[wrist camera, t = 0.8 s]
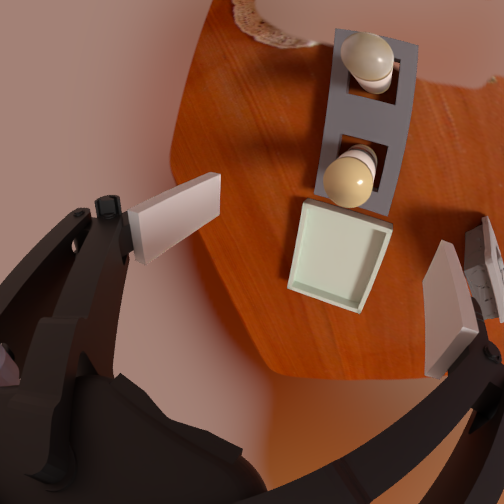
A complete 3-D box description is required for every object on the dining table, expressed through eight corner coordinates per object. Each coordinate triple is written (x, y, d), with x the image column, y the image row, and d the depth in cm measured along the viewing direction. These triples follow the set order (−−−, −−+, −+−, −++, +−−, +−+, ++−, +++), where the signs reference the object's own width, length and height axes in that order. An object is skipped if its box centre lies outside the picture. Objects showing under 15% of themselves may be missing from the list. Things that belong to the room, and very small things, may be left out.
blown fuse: (348, 140, 28) (327, 153, 19) (380, 149, 27) (377, 166, 17) (342, 171, 30) (319, 200, 21) (373, 180, 29) (366, 213, 19)
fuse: (359, 59, 22) (342, 28, 13) (392, 67, 21) (395, 38, 12) (355, 89, 25) (338, 73, 15) (388, 97, 23) (391, 85, 14)
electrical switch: (504, 271, 24) (519, 318, 17) (475, 285, 27) (482, 334, 21) (485, 212, 23) (505, 249, 16) (453, 229, 26) (462, 270, 20)
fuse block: (338, 33, 22) (335, 28, 20) (416, 49, 19) (418, 45, 17) (317, 189, 32) (313, 194, 31) (387, 210, 29) (387, 216, 28)
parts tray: (307, 197, 34) (303, 202, 32) (392, 223, 30) (392, 230, 28) (291, 280, 41) (287, 288, 39) (362, 305, 37) (360, 313, 35)
